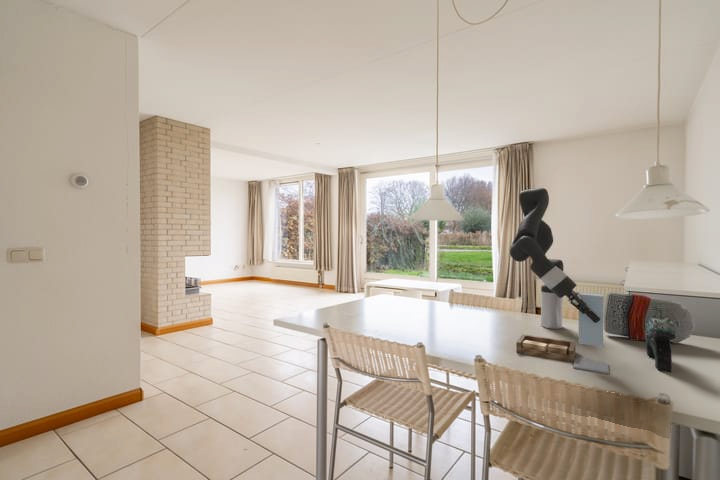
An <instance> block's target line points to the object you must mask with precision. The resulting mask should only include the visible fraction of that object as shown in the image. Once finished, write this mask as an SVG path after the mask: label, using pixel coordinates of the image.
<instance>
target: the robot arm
mask: <svg viewBox="0 0 720 480" xmlns="http://www.w3.org/2000/svg"><path fill="white" fill-rule="evenodd" d="M518 198H519V204H520V208H521V212H522V214H523V216H524V217H523V218H522V219H521V220H520V223H519V225H518V229H517V232H516V235H515V237H514V239H513V241H512V244H511V246H510V248H509V255H510V257H511V258H512V260H514V261H515V262H517V263H518V262H522V263H523V262H524V261H526V260H527V259H529V258H530V259H531V263H530V266H529V269H530V270H531V271H532V272H533V273H534V274H535V276H537V277H538V278H539V279H540V280H541V282H543V284H542V285H541V286H540V287H541V288H540V325H541V327H542V328H546V329H553V330H554V329H555V330H557V329H563V297H566V298H567V299H568V303H570V304H571V305H572V306H574V307H575V308H576V309H577V311H578V312H579V311H580V312H582V314H585V315H587V316H588V317H589V318H590V319H591V320H592V321H593V322H594V323H597V322H598V321H600V318H599V317H598V316H597V315H596V314H595V313H594V312H593V311H592V310H591V309H590V308H589V307H588V306H587V303H586V302H585V301H584V300H583V299H582V298H581V296H580V295H579V293H580V292H578V291H577V292H576V291H575V290H574V289H575V288H576V287H577V283H576V282H575V281H574V280H572V278H570V277H569V276H568V275H567V274H566V273H565V272H564V269H565V268H564V262H563V260H561V259H556V258H555V259H554V258H548V256H547V255H546V254H547V252H548V251H549V250H550V249H551V247H552V246H553V244H554V236H553V231H552V228H551V227H550V225H549V224H548V223H546V221H544V220H543V217H544V216H545V213H546V212H547V209H548V207H549V203H550V197H549V192H548V190H547V188H543V187H541V188H540V187H539V188H538V187H537V188H533V189H532V188H531V189H530V188H529V189H525V190H522V191H520V192H519V196H518ZM582 302H583V303H582ZM583 307H585V309H584V310H583V309H582V308H583Z"/></svg>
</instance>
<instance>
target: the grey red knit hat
mask: <svg viewBox="0 0 720 480" xmlns="http://www.w3.org/2000/svg"><path fill="white" fill-rule="evenodd" d="M660 308H662V319H661V320H665V319H666V318H670V321H672V322H673V324H674V328H675V339H672V340H670V342H674V343H673V344H679V343H681V342H682V341H685V340H687V339H689V338H690V337H691V335H692V333H693V331H694V330H695V328H696V325H695V320H694V316H693V314H692V313H691V312H690V311H689V310H688V309H687V307H685V306H682V304H681V303H680V302H676V301H673V300H669V299H667V298H666V299H665V298H658V297H651V296H650V297H649V296H646V295H643V294H635V293H631V294H628V293H622V292H613V291H608V292H607V293H606V299H605V303H604V308H603V332H606V334H610V335H616V336H621V337H626V338H629V340H630V339H638V340H637V341H639V340H643V341H646V339H645V325H646V324H648V321H649V319H650V318H653V317H654V315H658V316H659V318H660V315H661V313H660V311H659V309H660ZM655 319H658V317H657V316H656V317H655Z"/></svg>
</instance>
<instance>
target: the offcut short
mask: <svg viewBox="0 0 720 480" xmlns="http://www.w3.org/2000/svg"><path fill="white" fill-rule="evenodd" d="M548 352H553V353H559V354H565V355H568V347H567V346H561V345H555V344H549V346H548Z"/></svg>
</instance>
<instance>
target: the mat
mask: <svg viewBox="0 0 720 480" xmlns="http://www.w3.org/2000/svg"><path fill="white" fill-rule="evenodd" d="M572 368H573V369H577V370H580V371H581V370H582V371H587V372H593V373H597V374H598V373H599V374H604V375H609V373H610V371H609V370H610V369H609V363H608V362H603V361H602V362H601V361H596V360H591V359H584V358H577V357H574V362H573V365H572Z"/></svg>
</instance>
